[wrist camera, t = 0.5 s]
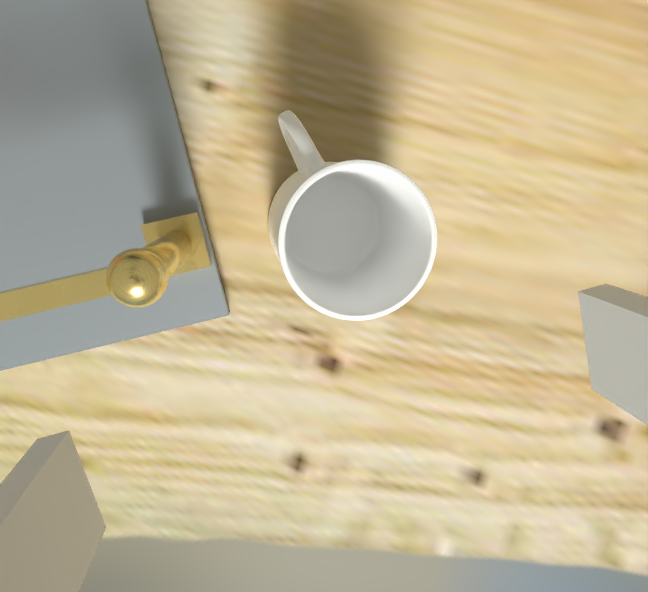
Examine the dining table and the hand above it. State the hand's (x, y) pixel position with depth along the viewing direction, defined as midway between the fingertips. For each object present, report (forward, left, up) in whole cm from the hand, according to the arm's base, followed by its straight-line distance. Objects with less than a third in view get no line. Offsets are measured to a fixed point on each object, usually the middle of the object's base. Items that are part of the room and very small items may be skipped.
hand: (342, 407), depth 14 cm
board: (-10, -15, -27) cm, 32 cm away
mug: (-3, +3, -27) cm, 27 cm away
